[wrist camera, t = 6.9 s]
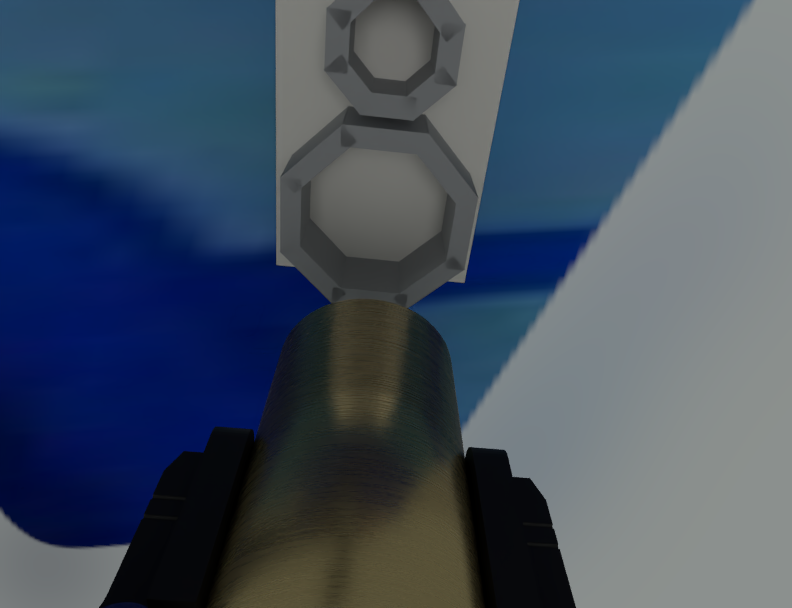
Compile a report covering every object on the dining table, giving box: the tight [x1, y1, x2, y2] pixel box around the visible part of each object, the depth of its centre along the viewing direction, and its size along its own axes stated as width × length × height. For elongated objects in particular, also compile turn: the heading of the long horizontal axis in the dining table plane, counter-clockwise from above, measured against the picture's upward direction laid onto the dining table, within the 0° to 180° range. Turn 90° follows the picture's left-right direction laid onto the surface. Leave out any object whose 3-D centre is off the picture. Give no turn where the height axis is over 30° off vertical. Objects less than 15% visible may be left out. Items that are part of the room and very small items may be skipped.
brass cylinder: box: [205, 299, 485, 608], centre depth 10 cm, size 4×4×10 cm
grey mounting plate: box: [276, 0, 519, 308], centre depth 23 cm, size 13×9×4 cm
